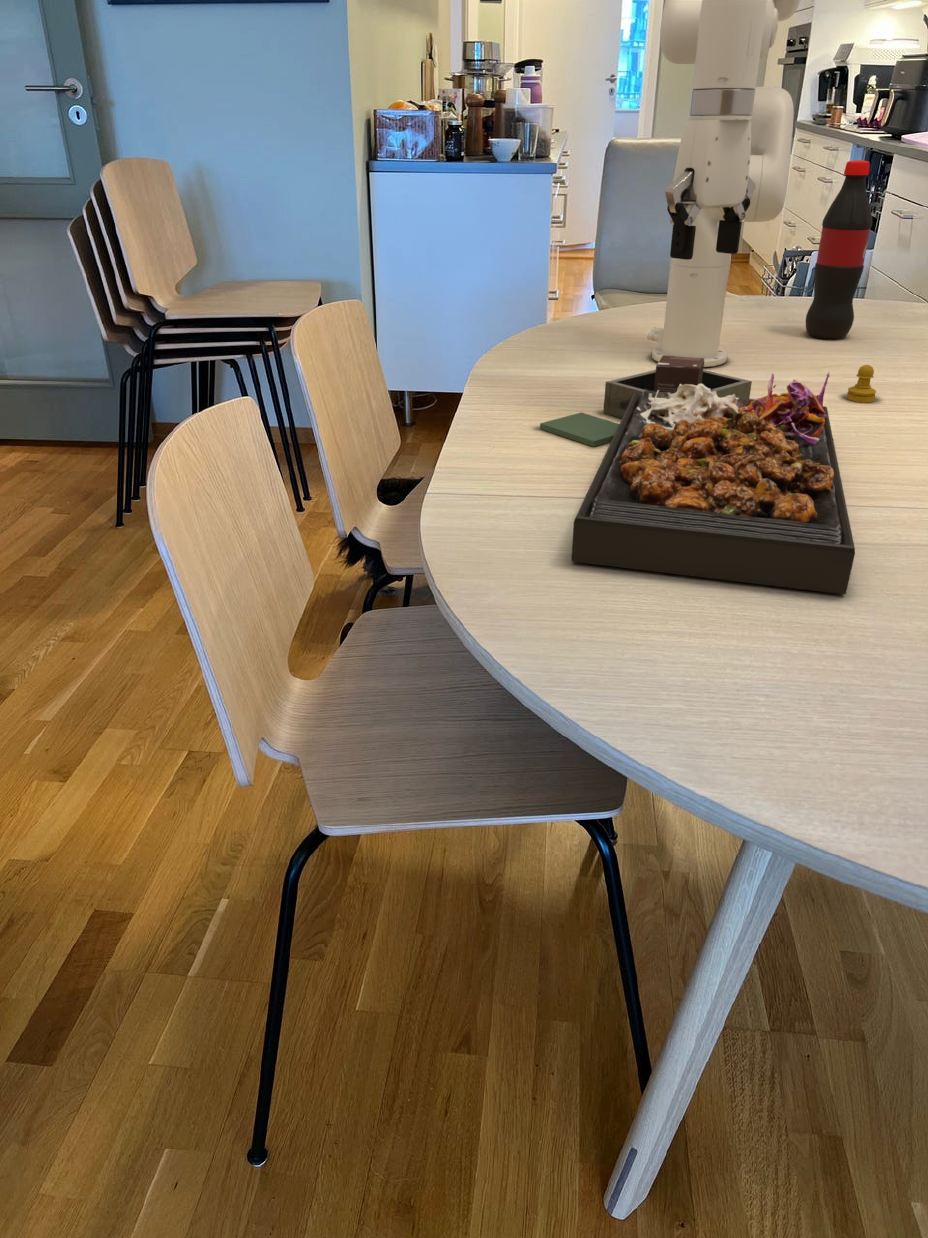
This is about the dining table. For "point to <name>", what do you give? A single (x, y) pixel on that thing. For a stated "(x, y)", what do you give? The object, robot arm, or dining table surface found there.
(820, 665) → the dining table surface
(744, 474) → the food platter
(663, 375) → the box
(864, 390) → the chess piece
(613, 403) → the dark grey tray
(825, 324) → the cola bottle
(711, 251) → the robot arm
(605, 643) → the dining table surface
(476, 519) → the dining table surface
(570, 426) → the mat
